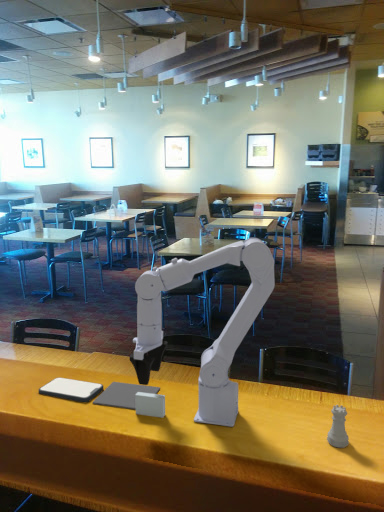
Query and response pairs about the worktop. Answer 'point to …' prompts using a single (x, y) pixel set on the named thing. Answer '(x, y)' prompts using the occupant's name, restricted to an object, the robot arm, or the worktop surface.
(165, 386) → the worktop surface
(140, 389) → the mat
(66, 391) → the smartphone
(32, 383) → the worktop surface
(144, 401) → the block
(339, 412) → the rook chess piece
